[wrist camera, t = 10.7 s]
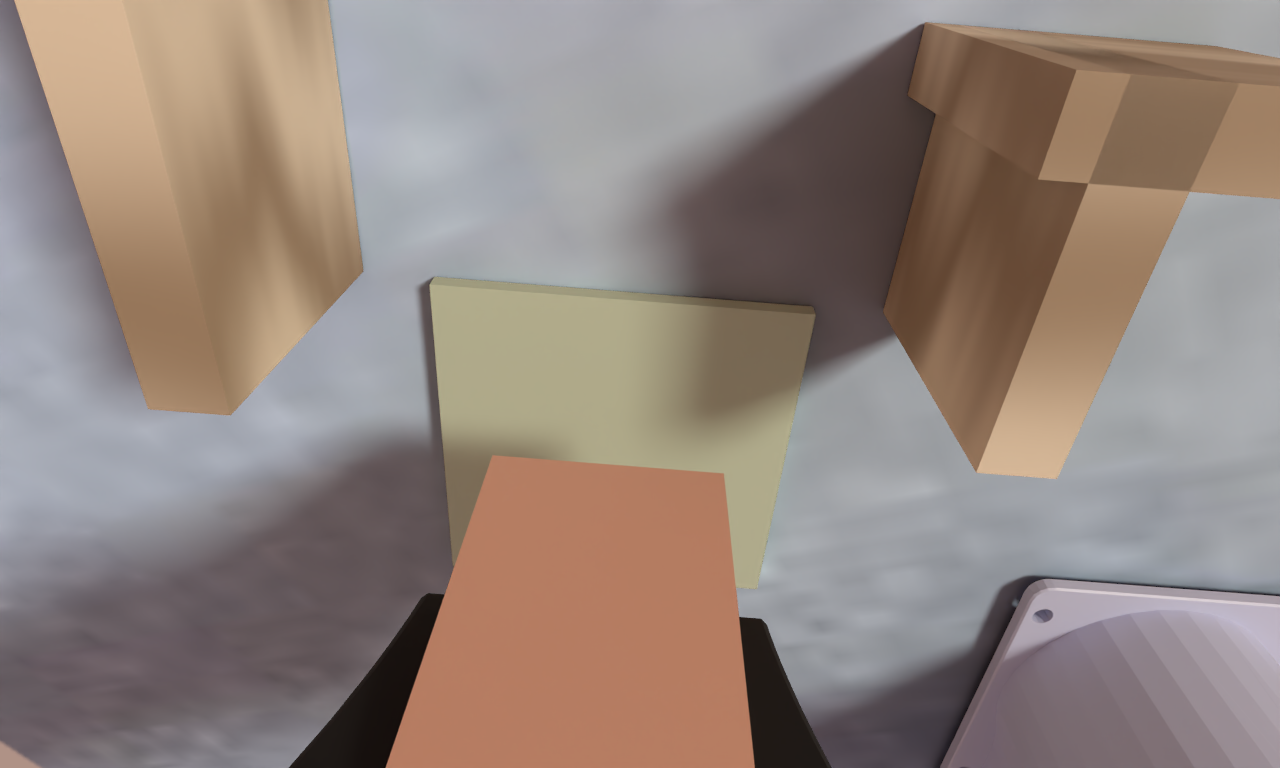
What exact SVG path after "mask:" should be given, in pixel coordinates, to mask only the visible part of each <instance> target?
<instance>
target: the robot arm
mask: <svg viewBox="0 0 1280 768" xmlns="http://www.w3.org/2000/svg"><path fill="white" fill-rule="evenodd" d="M443 598H444V594H431V593H428V594H426V595H425V596H423V597H422V598H421V599H420V601H419V602H418V604H417V605H416V607H415V609H414V610H413V612H412V613H411V615H410V616H409V617H408V619H407V620H406V622H405V623H404V625H403V626H402V628H401V629H400V630H399V632H398V633H397V635H396V636H395V637H394V639H393V640H392V642H391V643H390V644H389V646H388V647H387V649H386V650H385V651H384V653H383V654H382V655H381V657H380V658H379V659H378V661H377V662H376V663H375V665H374V666H373V667H372V669H371V670H370V671H369V672H368V674H367V675H366V676H365V678H364V679H363V680H362V681H361V683H360V684H359V685H358V686H357V688H356V689H355V690H354V691H353V693H352V694H351V695H350V696H349V698H348V699H347V700H346V701H345V703H344V704H343V705H342V706H341V708H340V709H339V710H338V711H337V713H336V714H335V715H334V716H333V717H332V719H331V720H330V721H329V722H328V723H327V725H326V726H325V727H324V728H323V729H322V730H321V731H320V733H319V734H318V735H317V736H316V737H315V738H314V739H313V741H312V742H311V743H310V744H309V745H308V746H307V747H306V749H305V750H304V751H303V752H302V753H301V754H300V755H299V757H298V758H297V759H296V760H295V761H294V762H293V763H292V765H291V766H290V767H289V768H386V765H387V762H388V759H389V756H390V753H391V751H392V748H393V745H394V742H395V739H396V736H397V733H398V730H399V727H400V724H401V721H402V718H403V715H404V712H405V710H406V707H407V704H408V701H409V698H410V695H411V692H412V689H413V686H414V683H415V680H416V677H417V674H418V672H419V669H420V666H421V663H422V660H423V657H424V654H425V651H426V648H427V645H428V642H429V639H430V636H431V633H432V631H433V628H434V625H435V622H436V619H437V616H438V613H439V610H440V607H441V604H442V601H443ZM739 622H740V632H741V641H742V650H743V660H744V670H745V679H746V689H747V698H748V708H749V717H750V727H751V736H752V746H753V755H754V765H755V768H831V766H830V764H829V762H828V760H827V758H826V756H825V754H824V752H823V750H822V748H821V747H820V745H819V743H818V741H817V739H816V737H815V735H814V733H813V731H812V729H811V727H810V725H809V723H808V721H807V719H806V717H805V715H804V713H803V711H802V709H801V706H800V704H799V702H798V700H797V698H796V696H795V693H794V691H793V689H792V687H791V684H790V682H789V680H788V678H787V676H786V673H785V671H784V668H783V666H782V664H781V661H780V659H779V656H778V654H777V651H776V649H775V646H774V644H773V641H772V638H771V636H770V633H769V630H768V627H767V624H766V623H765V622H764V621H763V620H762V619H756V618H743V617H739ZM940 768H1280V596H1269V595H1256V594H1243V593H1229V592H1216V591H1203V590H1190V589H1176V588H1163V587H1150V586H1137V585H1123V584H1110V583H1097V582H1084V581H1070V580H1057V579H1042V580H1039V581H1035V582H1034V583H1032V584H1031V585H1029V586H1028V588H1027V589H1026V590H1025V592H1024V594H1023V596H1022V598H1021V600H1020V602H1019V604H1018V606H1017V608H1016V610H1015V612H1014V615H1013V617H1012V619H1011V621H1010V623H1009V625H1008V627H1007V629H1006V631H1005V633H1004V635H1003V637H1002V639H1001V642H1000V644H999V646H998V648H997V650H996V652H995V654H994V656H993V658H992V660H991V662H990V664H989V666H988V669H987V671H986V673H985V675H984V677H983V679H982V681H981V683H980V685H979V687H978V689H977V691H976V693H975V695H974V698H973V700H972V702H971V704H970V706H969V708H968V710H967V712H966V714H965V716H964V718H963V720H962V722H961V725H960V727H959V729H958V731H957V733H956V735H955V737H954V739H953V741H952V743H951V745H950V747H949V749H948V752H947V754H946V756H945V758H944V760H943V762H942V764H941V766H940Z"/></svg>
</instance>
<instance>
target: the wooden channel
mask: <svg viewBox="0 0 1280 768" xmlns="http://www.w3.org/2000/svg"><path fill="white" fill-rule="evenodd" d="M14 1H15V4H16V7H17V10H18V13H19V16H20V19H21V22H22V25H23V28H24V31H25V34H26V37H27V41H28V44H29V47H30V50H31V53H32V56H33V59H34V62H35V65H36V68H37V71H38V74H39V77H40V80H41V83H42V86H43V89H44V92H45V95H46V99H47V102H48V105H49V108H50V111H51V114H52V117H53V120H54V123H55V126H56V129H57V132H58V135H59V138H60V141H61V144H62V147H63V150H64V153H65V156H66V160H67V163H68V166H69V169H70V172H71V175H72V178H73V181H74V184H75V187H76V190H77V193H78V196H79V199H80V202H81V205H82V208H83V211H84V214H85V218H86V221H87V224H88V227H89V230H90V233H91V236H92V239H93V242H94V245H95V248H96V251H97V254H98V257H99V260H100V263H101V266H102V269H103V272H104V276H105V279H106V282H107V285H108V288H109V291H110V294H111V297H112V300H113V303H114V306H115V309H116V312H117V315H118V318H119V321H120V324H121V327H122V330H123V333H124V337H125V340H126V343H127V346H128V349H129V352H130V355H131V358H132V361H133V364H134V367H135V370H136V373H137V376H138V379H139V382H140V385H141V388H142V391H143V395H144V398H145V401H146V404H147V407H148V409H153V410H167V411H180V412H193V413H206V414H219V415H231V414H232V413H233V412H234V411H235V410H236V409H237V408H238V407H239V406H240V405H241V403H242V402H243V401H244V400H245V399H246V398H247V397H248V396H249V395H250V394H251V393H252V392H253V390H254V389H255V388H256V387H257V386H258V385H259V384H260V383H261V382H262V381H263V380H264V379H265V377H266V376H267V375H268V374H269V373H270V372H271V371H272V370H273V369H274V368H275V367H276V366H277V364H278V363H279V362H280V361H281V360H282V359H283V358H284V357H285V356H286V355H287V354H288V352H289V351H290V350H291V349H292V348H293V347H294V346H295V345H296V344H297V343H298V342H299V341H300V339H301V338H302V337H303V336H304V335H305V334H306V333H307V332H308V331H309V330H310V329H311V328H312V326H313V325H314V324H315V323H316V322H317V321H318V320H319V319H320V318H321V317H322V316H323V314H324V313H325V312H326V311H327V310H328V309H329V308H330V307H331V306H332V305H333V304H334V303H335V301H336V300H337V299H338V298H339V297H340V296H341V295H342V294H343V293H344V292H345V291H346V290H347V288H348V287H349V286H350V285H351V284H352V283H353V282H354V281H355V280H356V279H357V278H358V276H359V275H360V274H361V273H362V272H363V264H362V257H361V249H360V241H359V234H358V226H357V219H356V211H355V203H354V196H353V188H352V181H351V173H350V165H349V158H348V150H347V143H346V135H345V128H344V120H343V112H342V105H341V97H340V90H339V82H338V74H337V67H336V59H335V52H334V44H333V37H332V29H331V21H330V14H329V6H328V0H14ZM907 96H909V97H911V98H912V99H914V100H915V101H917V102H918V103H920V104H921V105H923V106H925V107H926V108H928V109H929V110H931V111H932V112H934V113H935V114H936V116H935V119H934V123H933V127H932V131H931V134H930V138H929V142H928V145H927V149H926V153H925V157H924V160H923V164H922V168H921V172H920V175H919V179H918V183H917V187H916V190H915V194H914V198H913V202H912V205H911V209H910V213H909V217H908V220H907V224H906V228H905V232H904V235H903V239H902V243H901V246H900V250H899V254H898V258H897V261H896V265H895V269H894V273H893V276H892V280H891V284H890V288H889V291H888V295H887V299H886V303H885V306H884V310H883V313H884V315H885V316H886V318H887V320H888V322H889V323H890V325H891V327H892V328H893V330H894V332H895V334H896V335H897V337H898V339H899V341H900V342H901V344H902V346H903V347H904V349H905V351H906V353H907V354H908V356H909V358H910V359H911V361H912V363H913V365H914V366H915V368H916V370H917V371H918V373H919V375H920V377H921V378H922V380H923V382H924V384H925V385H926V387H927V389H928V390H929V392H930V394H931V396H932V397H933V399H934V401H935V402H936V404H937V406H938V408H939V409H940V411H941V413H942V414H943V416H944V418H945V420H946V421H947V423H948V425H949V427H950V428H951V430H952V432H953V433H954V435H955V437H956V439H957V440H958V442H959V444H960V445H961V447H962V449H963V451H964V452H965V454H966V456H967V458H968V459H969V461H970V463H971V464H972V466H973V468H974V470H975V471H976V473H987V474H1000V475H1013V476H1026V477H1039V478H1052V479H1057V477H1058V475H1059V473H1060V471H1061V469H1062V467H1063V464H1064V462H1065V460H1066V458H1067V456H1068V454H1069V451H1070V449H1071V447H1072V445H1073V443H1074V441H1075V438H1076V436H1077V434H1078V432H1079V430H1080V428H1081V426H1082V423H1083V421H1084V419H1085V417H1086V415H1087V413H1088V410H1089V408H1090V406H1091V404H1092V402H1093V400H1094V397H1095V395H1096V393H1097V391H1098V389H1099V387H1100V384H1101V382H1102V380H1103V378H1104V376H1105V374H1106V371H1107V369H1108V367H1109V365H1110V363H1111V361H1112V358H1113V356H1114V354H1115V352H1116V350H1117V348H1118V345H1119V343H1120V341H1121V339H1122V337H1123V335H1124V332H1125V330H1126V328H1127V326H1128V324H1129V322H1130V319H1131V317H1132V315H1133V313H1134V311H1135V309H1136V307H1137V304H1138V302H1139V300H1140V298H1141V296H1142V294H1143V291H1144V289H1145V287H1146V285H1147V283H1148V281H1149V278H1150V276H1151V274H1152V272H1153V270H1154V268H1155V265H1156V263H1157V261H1158V259H1159V257H1160V255H1161V252H1162V250H1163V248H1164V246H1165V244H1166V242H1167V239H1168V237H1169V235H1170V233H1171V231H1172V229H1173V226H1174V224H1175V222H1176V220H1177V218H1178V216H1179V213H1180V211H1181V209H1182V207H1183V205H1184V203H1185V200H1186V198H1187V196H1188V194H1189V192H1200V193H1213V194H1225V195H1237V196H1250V197H1262V198H1274V199H1280V58H1275V57H1270V56H1265V55H1259V54H1254V53H1249V52H1244V51H1238V50H1233V49H1228V48H1223V47H1218V46H1207V45H1194V44H1182V43H1170V42H1158V41H1146V40H1134V39H1122V38H1110V37H1098V36H1085V35H1073V34H1061V33H1049V32H1037V31H1025V30H1013V29H1001V28H989V27H977V26H964V25H952V24H940V23H928V22H925V25H924V30H923V34H922V38H921V42H920V46H919V50H918V54H917V58H916V62H915V66H914V70H913V74H912V79H911V83H910V87H909V91H908V95H907Z"/></svg>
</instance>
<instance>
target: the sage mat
mask: <svg viewBox="0 0 1280 768" xmlns="http://www.w3.org/2000/svg"><path fill="white" fill-rule="evenodd" d="M429 286H430V298H431V310H432V322H433V334H434V346H435V358H436V370H437V383H438V395H439V407H440V419H441V431H442V443H443V455H444V467H445V479H446V491H447V503H448V515H449V527H450V539H451V551H452V563H453V566H455V563H456V560H457V557H458V554H459V552H460V549H461V546H462V543H463V540H464V537H465V534H466V531H467V528H468V525H469V522H470V519H471V516H472V514H473V511H474V508H475V505H476V502H477V499H478V496H479V493H480V490H481V487H482V484H483V481H484V478H485V475H486V473H487V470H488V467H489V464H490V461H491V458H492V455H496V456H509V457H522V458H534V459H547V460H560V461H572V462H585V463H598V464H610V465H623V466H636V467H649V468H661V469H674V470H687V471H699V472H712V473H724V479H725V489H726V498H727V508H728V517H729V527H730V536H731V546H732V555H733V565H734V575H735V584H736V588H748V589H757V585H758V581H759V576H760V571H761V567H762V562H763V557H764V553H765V548H766V544H767V539H768V534H769V530H770V525H771V520H772V516H773V511H774V506H775V502H776V497H777V493H778V488H779V483H780V479H781V474H782V469H783V465H784V460H785V455H786V451H787V446H788V442H789V437H790V432H791V428H792V423H793V418H794V414H795V409H796V404H797V400H798V395H799V391H800V386H801V381H802V377H803V372H804V367H805V363H806V358H807V353H808V349H809V344H810V340H811V335H812V330H813V326H814V321H815V316H816V314H815V312H814V309H813V307H811V306H798V305H786V304H773V303H760V302H747V301H735V300H722V299H709V298H697V297H684V296H671V295H659V294H646V293H633V292H621V291H608V290H595V289H582V288H570V287H557V286H544V285H532V284H519V283H506V282H494V281H481V280H468V279H455V278H443V277H434V278H433V280H432V281H431V283H430V284H429Z"/></svg>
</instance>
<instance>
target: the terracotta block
mask: <svg viewBox="0 0 1280 768" xmlns="http://www.w3.org/2000/svg"><path fill="white" fill-rule="evenodd" d="M386 768H755V765H754V755H753V746H752V736H751V727H750V717H749V708H748V698H747V689H746V679H745V670H744V660H743V650H742V641H741V632H740V622H739V612H738V603H737V593H736V584H735V575H734V565H733V555H732V546H731V536H730V527H729V517H728V508H727V498H726V489H725V479H724V473H712V472H699V471H687V470H674V469H661V468H649V467H636V466H623V465H610V464H598V463H585V462H572V461H560V460H547V459H534V458H522V457H509V456H496V455H492V458H491V461H490V464H489V467H488V470H487V473H486V475H485V478H484V481H483V484H482V487H481V490H480V493H479V496H478V499H477V502H476V505H475V508H474V511H473V514H472V516H471V519H470V522H469V525H468V528H467V531H466V534H465V537H464V540H463V543H462V546H461V549H460V552H459V554H458V557H457V560H456V563H455V566H454V569H453V572H452V575H451V578H450V581H449V584H448V587H447V590H446V593H445V595H444V598H443V601H442V604H441V607H440V610H439V613H438V616H437V619H436V622H435V625H434V628H433V631H432V633H431V636H430V639H429V642H428V645H427V648H426V651H425V654H424V657H423V660H422V663H421V666H420V669H419V672H418V674H417V677H416V680H415V683H414V686H413V689H412V692H411V695H410V698H409V701H408V704H407V707H406V710H405V712H404V715H403V718H402V721H401V724H400V727H399V730H398V733H397V736H396V739H395V742H394V745H393V748H392V751H391V753H390V756H389V759H388V762H387V765H386Z"/></svg>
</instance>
